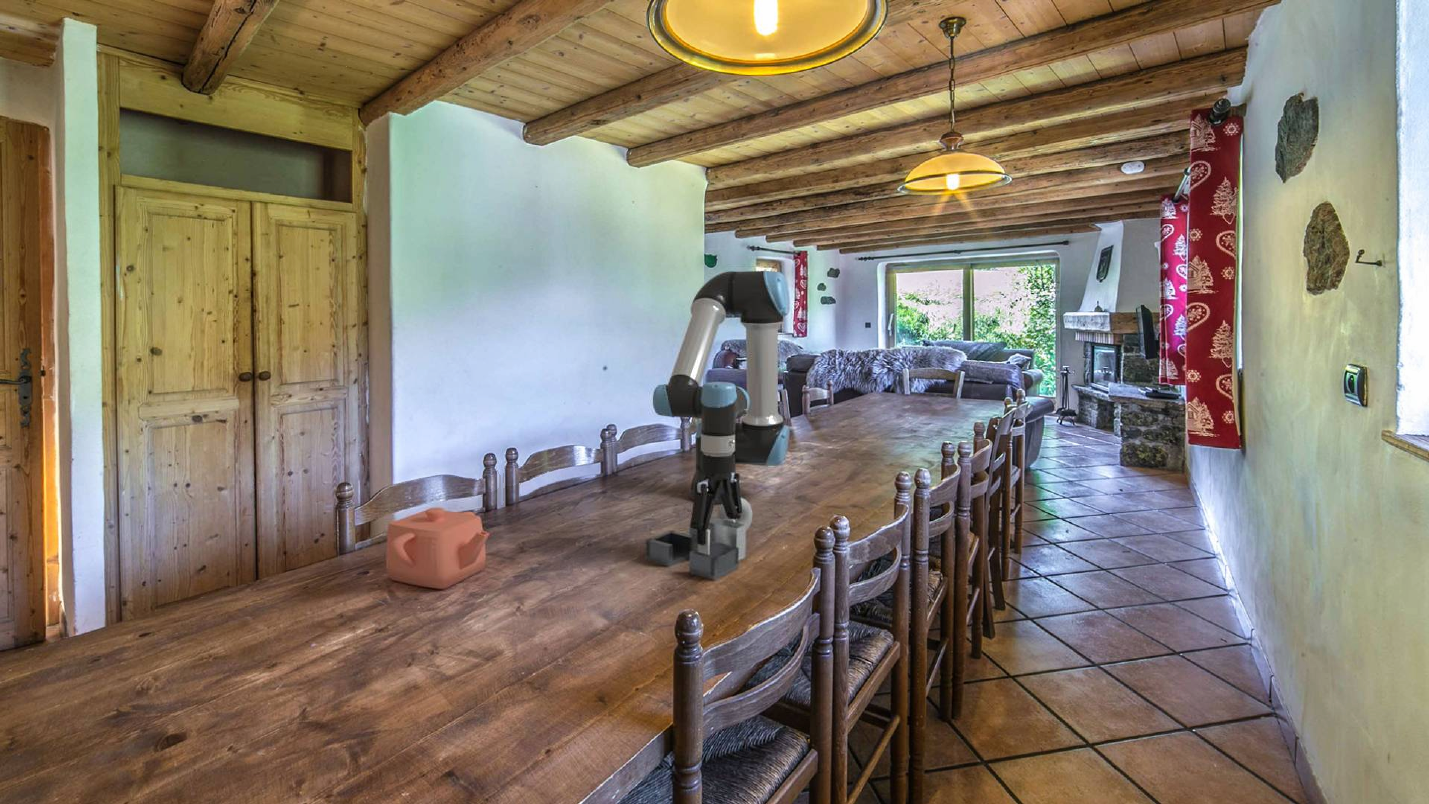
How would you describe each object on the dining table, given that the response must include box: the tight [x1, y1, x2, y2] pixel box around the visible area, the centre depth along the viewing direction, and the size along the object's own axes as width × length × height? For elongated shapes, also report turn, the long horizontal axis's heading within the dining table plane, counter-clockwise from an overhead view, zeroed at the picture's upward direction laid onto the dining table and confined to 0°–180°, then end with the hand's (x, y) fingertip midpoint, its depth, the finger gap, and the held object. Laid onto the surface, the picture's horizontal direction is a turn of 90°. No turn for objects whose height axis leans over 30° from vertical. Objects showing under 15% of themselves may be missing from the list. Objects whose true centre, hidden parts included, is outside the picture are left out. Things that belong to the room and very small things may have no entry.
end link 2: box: [689, 542, 740, 582], centre depth 141 cm, size 8×6×4 cm
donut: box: [715, 497, 753, 532], centre depth 162 cm, size 10×3×10 cm, turn 125°
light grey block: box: [688, 516, 747, 561], centre depth 151 cm, size 4×13×8 cm, turn 53°
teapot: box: [385, 507, 490, 590], centre depth 135 cm, size 20×22×14 cm
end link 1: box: [645, 530, 695, 568], centre depth 148 cm, size 8×6×4 cm
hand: (716, 552), depth 152 cm, fingers open, 9 cm apart
